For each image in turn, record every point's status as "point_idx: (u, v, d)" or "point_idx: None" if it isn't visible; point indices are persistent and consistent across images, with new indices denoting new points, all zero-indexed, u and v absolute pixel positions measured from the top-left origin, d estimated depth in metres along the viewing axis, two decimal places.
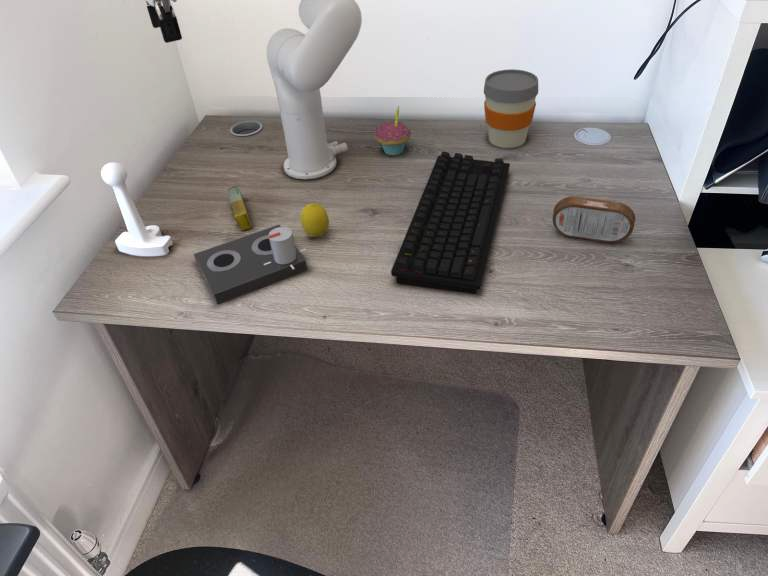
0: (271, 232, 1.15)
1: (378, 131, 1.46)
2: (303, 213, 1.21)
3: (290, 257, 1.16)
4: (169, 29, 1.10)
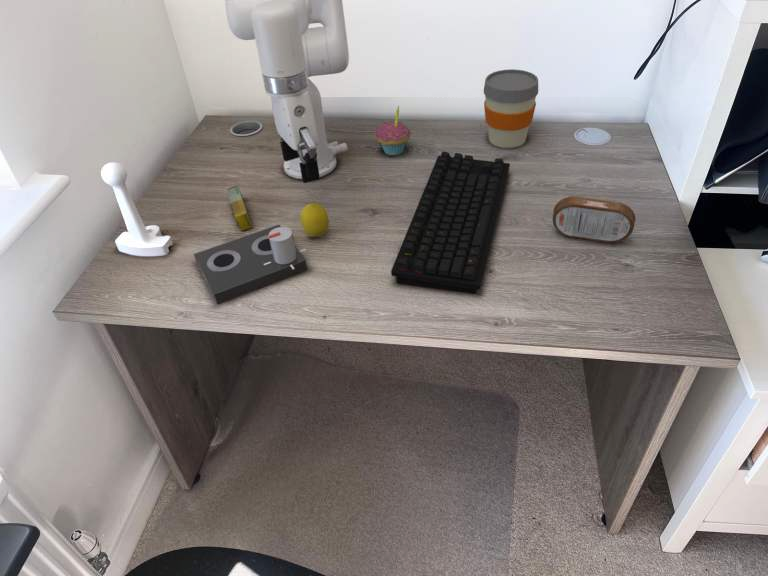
0: (271, 232, 1.15)
1: (378, 131, 1.46)
2: (303, 213, 1.21)
3: (290, 257, 1.16)
4: (310, 171, 1.11)
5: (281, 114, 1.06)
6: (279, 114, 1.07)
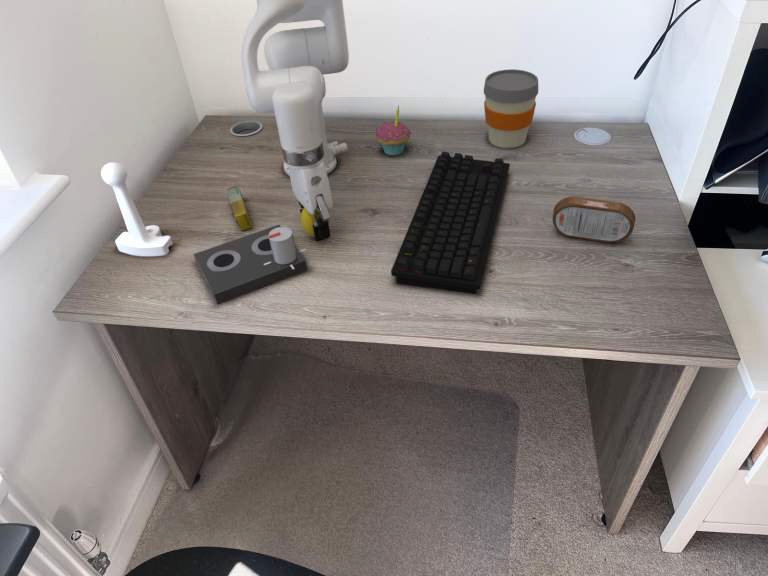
0: (271, 232, 1.15)
1: (378, 131, 1.46)
2: (303, 213, 1.21)
3: (290, 257, 1.16)
4: (322, 232, 1.21)
5: (299, 182, 1.15)
6: (296, 181, 1.16)
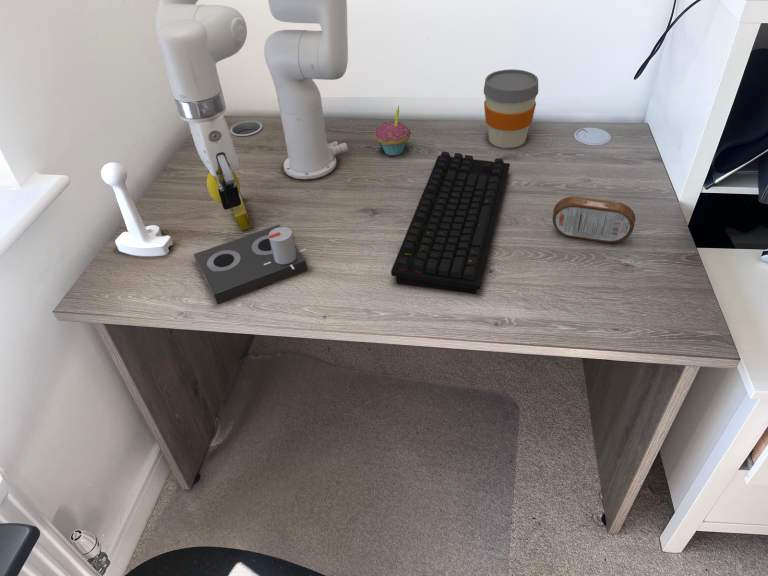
0: (271, 232, 1.15)
1: (378, 131, 1.46)
2: (208, 177, 1.07)
3: (290, 257, 1.16)
4: (229, 198, 1.07)
5: (197, 139, 1.00)
6: (195, 138, 1.01)
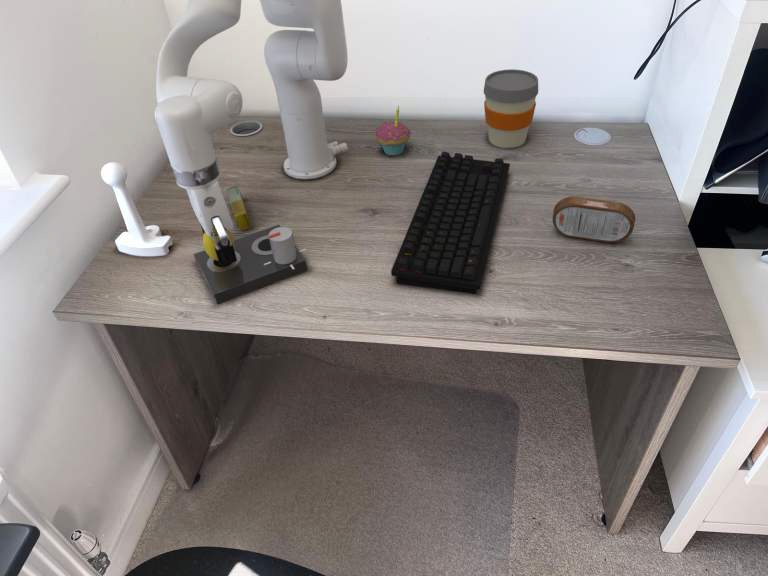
0: (271, 232, 1.15)
1: (378, 131, 1.46)
2: (204, 236, 1.13)
3: (290, 257, 1.16)
4: (225, 256, 1.11)
5: (193, 203, 1.06)
6: (191, 202, 1.07)
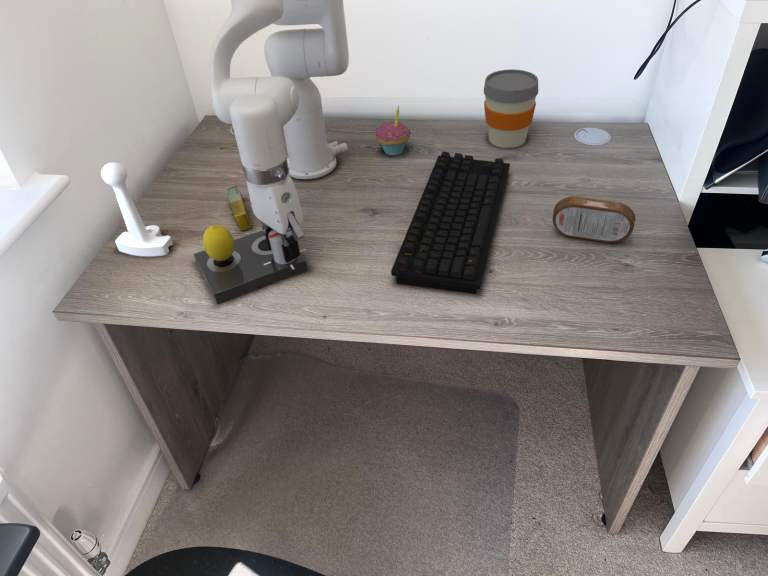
0: (271, 232, 1.15)
1: (378, 131, 1.46)
2: (204, 236, 1.13)
3: None
4: (292, 251, 1.13)
5: (266, 202, 1.06)
6: (262, 201, 1.07)
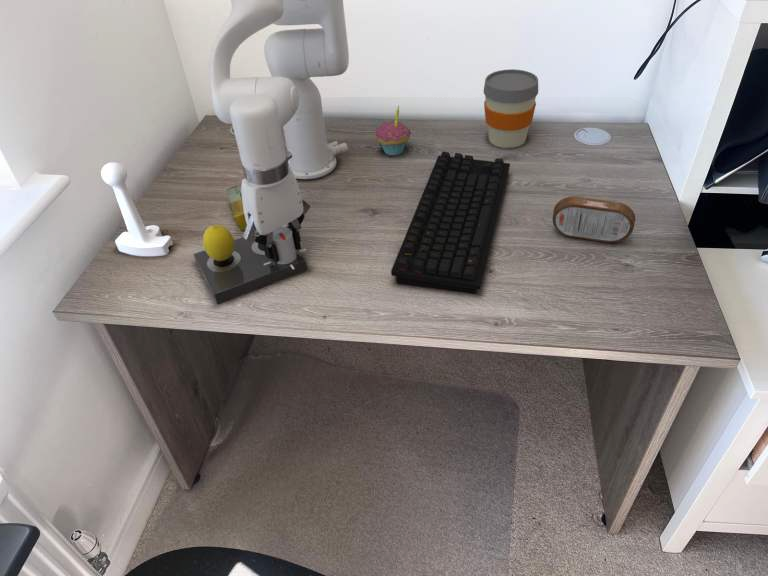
0: (275, 239, 1.13)
1: (378, 131, 1.46)
2: (204, 236, 1.13)
3: None
4: None
5: (288, 193, 1.08)
6: (283, 197, 1.07)
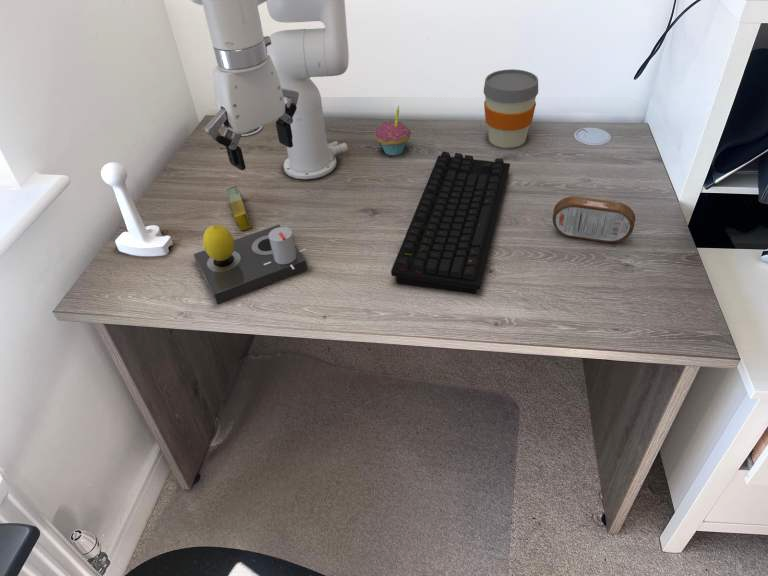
0: (275, 239, 1.13)
1: (378, 131, 1.46)
2: (204, 236, 1.13)
3: None
4: (289, 130, 1.05)
5: (266, 84, 0.95)
6: (261, 89, 0.94)
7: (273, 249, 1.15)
